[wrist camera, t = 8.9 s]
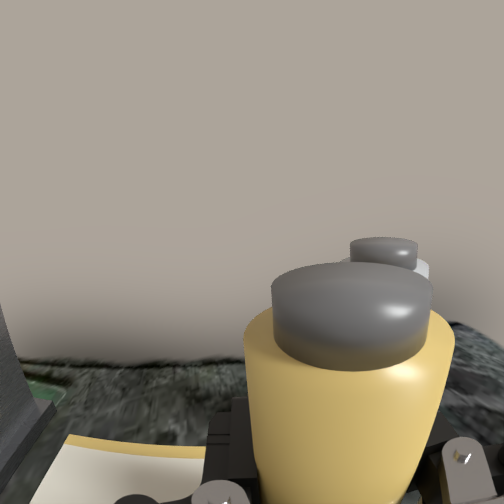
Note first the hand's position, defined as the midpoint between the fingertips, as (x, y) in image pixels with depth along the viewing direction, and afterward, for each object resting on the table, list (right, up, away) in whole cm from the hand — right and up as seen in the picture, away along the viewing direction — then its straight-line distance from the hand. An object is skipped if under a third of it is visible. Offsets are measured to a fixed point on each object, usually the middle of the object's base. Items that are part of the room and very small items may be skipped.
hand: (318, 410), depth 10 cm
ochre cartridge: (0, -7, -1) cm, 7 cm away
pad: (-9, -8, +2) cm, 12 cm away
